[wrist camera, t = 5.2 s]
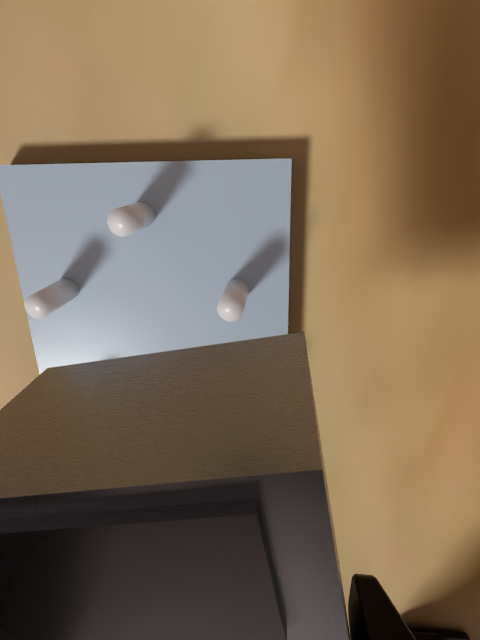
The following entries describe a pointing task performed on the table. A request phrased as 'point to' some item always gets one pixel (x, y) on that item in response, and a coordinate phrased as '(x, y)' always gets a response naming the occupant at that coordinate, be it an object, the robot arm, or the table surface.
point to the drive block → (169, 500)
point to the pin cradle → (149, 254)
